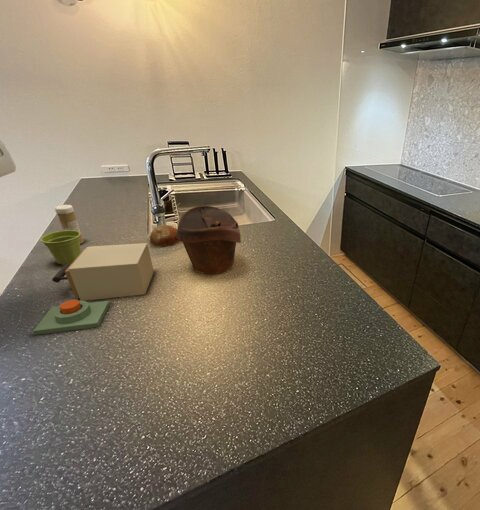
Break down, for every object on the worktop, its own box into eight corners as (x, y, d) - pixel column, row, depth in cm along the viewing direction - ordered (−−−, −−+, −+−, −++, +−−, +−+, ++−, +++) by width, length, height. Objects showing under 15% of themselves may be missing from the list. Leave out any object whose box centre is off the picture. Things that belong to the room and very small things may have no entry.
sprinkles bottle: (65, 243, 107) (51, 206, 100) (80, 239, 110) (67, 203, 104) (72, 246, 105) (58, 209, 99) (87, 242, 108) (75, 206, 102)
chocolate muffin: (222, 285, 91) (215, 230, 83) (168, 270, 96) (157, 217, 88) (255, 260, 106) (252, 211, 98) (208, 248, 112) (201, 201, 103)
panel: (34, 335, 68) (29, 324, 67) (53, 310, 76) (49, 300, 75) (98, 326, 72) (94, 316, 71) (110, 304, 80) (107, 294, 78)
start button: (59, 315, 71) (56, 309, 70) (65, 306, 74) (63, 300, 73) (78, 313, 72) (75, 307, 71) (83, 304, 75) (81, 298, 74)
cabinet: (80, 301, 80) (68, 268, 75) (97, 276, 91) (87, 246, 86) (145, 294, 85) (137, 263, 80) (153, 271, 95) (147, 242, 91)
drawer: (54, 299, 78) (43, 273, 75) (72, 276, 88) (63, 252, 84) (134, 291, 84) (128, 266, 80) (144, 270, 94) (138, 247, 90)
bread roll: (160, 244, 119) (146, 228, 114) (185, 232, 120) (172, 215, 115) (157, 256, 111) (141, 238, 106) (183, 243, 112) (169, 225, 107)
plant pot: (50, 271, 91) (39, 245, 87) (50, 258, 97) (40, 233, 93) (89, 263, 96) (81, 238, 93) (87, 251, 103) (79, 227, 99)
